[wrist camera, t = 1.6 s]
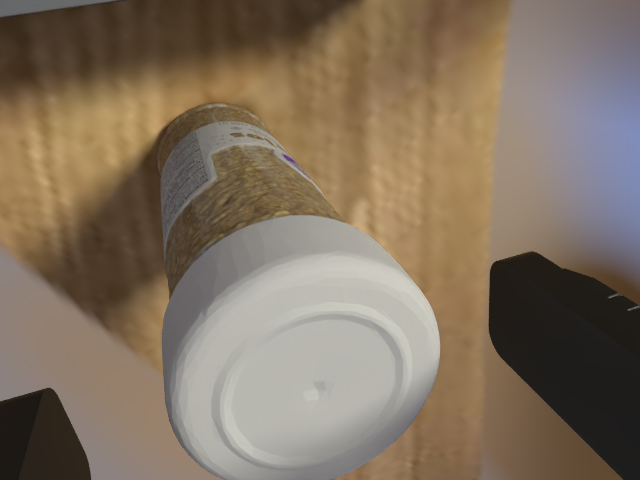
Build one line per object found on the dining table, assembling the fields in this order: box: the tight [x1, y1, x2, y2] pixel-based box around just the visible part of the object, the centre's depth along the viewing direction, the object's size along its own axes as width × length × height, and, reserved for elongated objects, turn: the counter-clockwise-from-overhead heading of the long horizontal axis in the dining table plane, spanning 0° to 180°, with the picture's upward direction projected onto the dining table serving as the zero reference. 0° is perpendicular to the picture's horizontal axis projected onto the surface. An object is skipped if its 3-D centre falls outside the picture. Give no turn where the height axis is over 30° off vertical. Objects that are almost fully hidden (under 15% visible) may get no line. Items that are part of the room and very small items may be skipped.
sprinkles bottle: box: [157, 102, 440, 480], centre depth 14 cm, size 5×5×13 cm
